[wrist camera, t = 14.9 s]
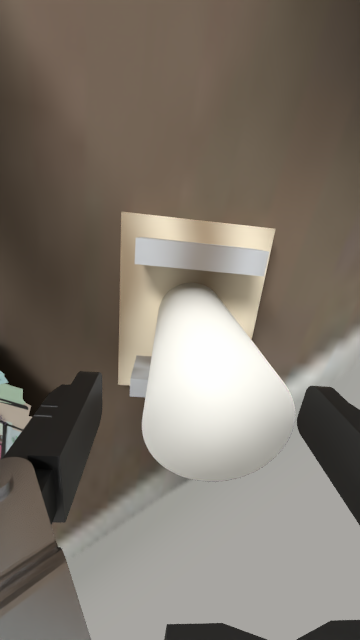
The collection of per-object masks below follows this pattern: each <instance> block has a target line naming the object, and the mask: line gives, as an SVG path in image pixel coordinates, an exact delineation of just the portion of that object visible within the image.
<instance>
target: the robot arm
mask: <svg viewBox="0 0 360 640" xmlns="http://www.w3.org/2000/svg"><path fill="white" fill-rule="evenodd" d="M101 414H102V374H101V373H99V372H83V371H80V372H79V373H78V374H77V376H76V377H75V379H74V381H73V382H72V384H71V385H61V386H59V387H58V388H56V389H55V390H53V391H52V392H51V393H49V395H48V396H47V397H46V399H45V400H44V401H43V403H42V404H41V407H39V408H38V410H37V411H36V413H35V414H34V417H32V418H31V419H30V421H29V422H28V424H27V425H26V426H25V428H24V429H23V431H22V432H21V433H20V435H19V436H18V437H17V439H16V440H15V442H14V443H13V444H12V446H11V447H10V449H9V450H8V451H7V453H6V454H5V456H4V457H3V458H2V459H0V640H91V638H90V635H89V632H88V628H87V625H86V622H85V619H84V616H83V612H82V609H81V606H80V603H79V600H78V596H77V593H76V590H75V587H74V584H73V581H72V577H71V574H70V571H69V568H68V565H67V562H66V559H65V556H64V553H63V551H62V549H61V548H60V547H58V545H57V543H56V540H55V537H54V533H53V530H52V527H51V525H52V522H66V519H67V516H68V513H69V510H70V507H71V505H72V502H73V499H74V496H75V493H76V490H77V487H78V484H79V482H80V479H81V476H82V473H83V470H84V467H85V464H86V461H87V459H88V456H89V453H90V450H91V447H92V444H93V441H94V438H95V436H96V433H97V430H98V427H99V424H100V420H101ZM297 426H298V430H299V433H300V434H301V436H302V438H303V439H304V441H305V442H306V444H307V445H308V447H309V448H310V450H311V451H312V453H313V454H314V456H315V457H316V459H317V461H318V462H319V464H320V465H321V467H322V468H323V470H324V471H325V473H326V474H327V476H328V477H329V479H330V481H331V482H332V484H333V485H334V487H335V488H336V490H337V491H338V493H339V494H340V496H341V497H342V499H343V500H344V502H345V503H346V505H347V506H348V508H349V510H350V511H351V513H352V514H353V516H354V517H355V519H356V520H357V522H358V523H359V525H360V410H359V409H357V408H356V407H354V406H353V405H351V404H350V403H348V402H347V401H346V400H345V399H344V398H343V397H342V396H340V394H339V393H338V392H337V391H335V389H333V388H331V387H321V386H310V387H308V389H307V390H306V393H305V396H304V399H303V402H302V405H301V408H300V411H299V414H298V418H297ZM164 640H267V639H264V638H261V637H258V636H256V635H253V634H250V633H248V632H244V631H242V630H239V629H237V628H234V627H231V626H228V625H226V624H223V623H209V624H167V627H166V633H165V639H164ZM297 640H360V620H342V621H341V620H339V621H330V622H328V623H326V624H324V625H322V626H320V627H319V628H317V629H315V630H313V631H311V632H309V633H308V634H306V635H304V636H302V637H300V638H298V639H297Z"/></svg>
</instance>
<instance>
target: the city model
mask: <svg viewBox="0 0 360 640" xmlns="http://www.w3.org/2000/svg"><path fill="white" fill-rule="evenodd" d="M4 375H5V374H4V373H2V372H1V371H0V459H2V458H3V457H4V456H5V454H6V453H7V451H8V450H9V449H10V447H11V446H12V444H13V443H14V442H15V440H16V439H17V437H18V436H19V435H20V433H21V432H22V431H23V429H24V428H25V426H26V425H27V424H28V422H29V421H30V419H31V418H32V417H31V416H29V412H30V408H31V405H29V404H26V403H25V401H24V400H23V389H21V388H18V387H14V386H11V385H8V384H5V383H9V382H8V381H7V379H6V378H5V377H4Z"/></svg>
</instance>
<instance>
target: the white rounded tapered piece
mask: <svg viewBox="0 0 360 640" xmlns="http://www.w3.org/2000/svg"><path fill="white" fill-rule="evenodd" d="M294 423H295V406H294V402H293V398H292V396H291V393H290V391H289V390H288V388H287V387H286V385H285V383H284V382H283V381H282V380H281V378H280V377H279V376H278V374H277V373H276V372H275V370H274V369H273V368H272V366H271V365H270V364H269V363H268V361H267V360H266V359H265V357H264V356H263V355H262V353H261V352H260V351H259V349H258V348H257V347H256V346H255V344H254V343H253V342H252V340H251V339H250V338H249V336H248V335H247V334H246V332H245V331H244V330H243V328H242V327H241V326H240V325H239V323H238V322H237V321H236V319H235V318H234V317H233V315H232V314H231V313H230V311H229V310H228V309H227V308H226V306H225V305H224V304H223V302H222V301H221V300H220V298H219V297H218V296H217V294H216V293H215V292H214V291H213V290H211V289H210V288H208V287H207V286H205V285H202V284H198V283H184V284H181V285H178V286H176V287H174V288H172V289H171V290H170V291H169V292H168V293H167V294H166V295H165V296H164V297H163V299H162V301H161V303H160V306H159V310H158V317H157V324H156V330H155V337H154V344H153V350H152V357H151V364H150V371H149V377H148V384H147V391H146V397H145V404H144V411H143V418H142V433H143V438H144V441H145V444H146V446H147V448H148V450H149V452H150V453H151V454H152V456H153V457H154V458H155V459H156V460H157V461H158V462H159V463H160V464H161V465H162V466H163V467H165V468H166V469H168V470H169V471H171V472H173V473H175V474H177V475H179V476H182V477H185V478H188V479H192V480H197V481H207V482H211V481H212V482H215V481H216V482H217V481H227V480H232V479H236V478H239V477H243V476H246V475H248V474H250V473H253V472H255V471H257V470H258V469H260V468H262V467H263V466H265V465H266V464H268V463H269V462H270V461H271V460H272V459H274V458H275V457H276V456H277V455H278V454H279V453H280V452H281V450H282V449H283V448H284V446H285V445H286V443H287V442H288V440H289V438H290V436H291V433H292V431H293V427H294Z"/></svg>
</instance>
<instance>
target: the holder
mask: <svg viewBox="0 0 360 640" xmlns="http://www.w3.org/2000/svg"><path fill="white" fill-rule="evenodd" d="M274 233H275V229H272V228H263V227H254V226H245V225H236V224H227V223H218V222H209V221H200V220H191V219H182V218H173V217H164V216H154V215H145V214H136V213H127V212H121V256H120V309H119V361H118V385H130V396H131V397H146V391H147V384H148V377H149V371H150V364H151V357H152V350H153V344H154V337H155V330H156V324H157V317H158V310H159V306H160V303H161V301H162V299H163V297H164V296H165V295H166V294H167V293H168V292H169V291H170V290H171V289H172V288H174V287H176V286H178V285H181V284H184V283H198V284H202V285H205V286H207V287H208V288H210V289H211V290H213V291H214V292H215V293H216V294H217V296H218V297H219V298H220V300H221V301H222V302H223V304H224V305H225V306H226V308H227V309H228V310H229V311H230V313H231V314H232V315H233V317H234V318H235V319H236V321H237V322H238V323H239V325H240V326H241V327H242V328H243V330H244V331H245V332H246V334H247V335H248V336H249V338H250V339H251V340H252V336H253V331H254V326H255V322H256V317H257V312H258V308H259V303H260V298H261V294H262V289H263V284H264V280H265V275H266V270H267V266H268V261H269V256H270V252H271V247H272V242H273V238H274Z"/></svg>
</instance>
